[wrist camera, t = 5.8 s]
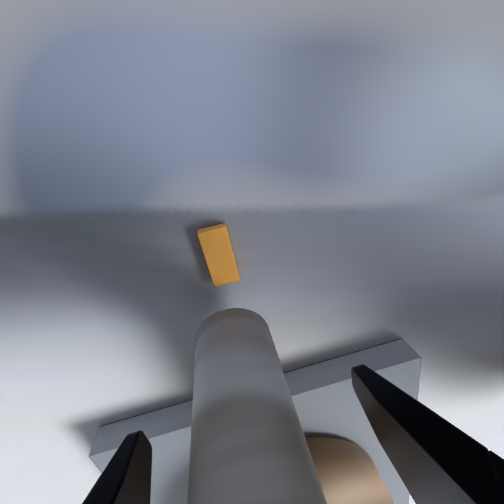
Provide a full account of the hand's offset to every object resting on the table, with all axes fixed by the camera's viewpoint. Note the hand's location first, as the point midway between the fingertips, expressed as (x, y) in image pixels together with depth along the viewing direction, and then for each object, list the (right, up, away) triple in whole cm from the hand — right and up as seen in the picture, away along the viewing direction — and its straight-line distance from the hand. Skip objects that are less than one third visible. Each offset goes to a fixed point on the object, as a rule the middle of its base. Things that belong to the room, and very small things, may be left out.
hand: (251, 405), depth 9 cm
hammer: (+1, -7, +7) cm, 10 cm away
